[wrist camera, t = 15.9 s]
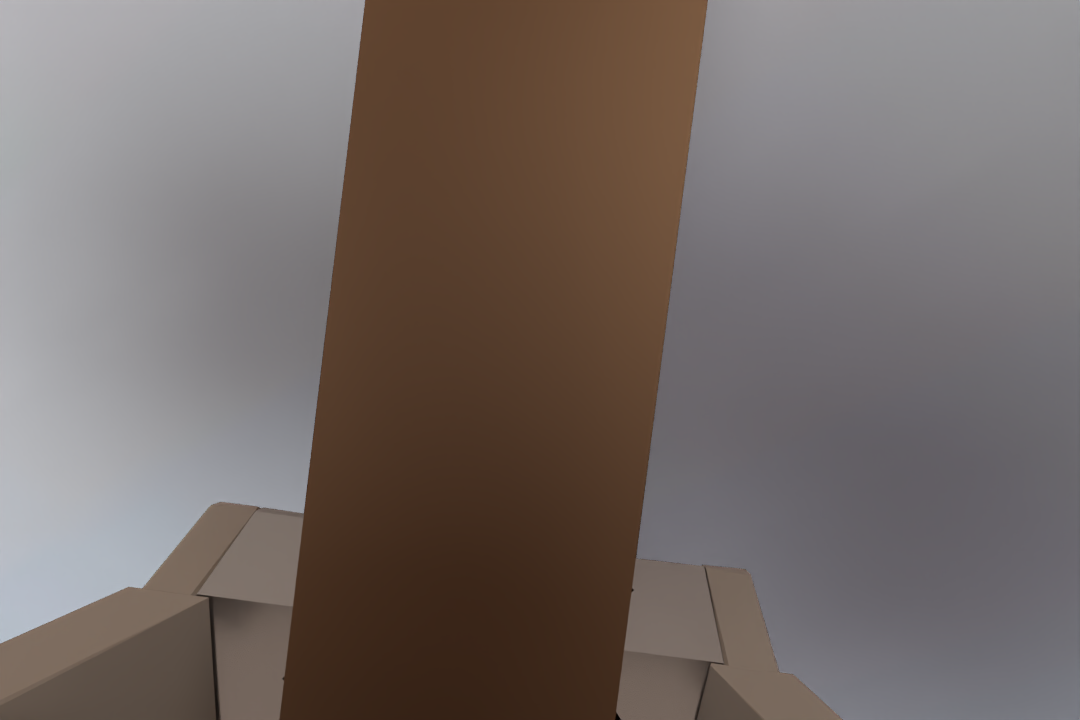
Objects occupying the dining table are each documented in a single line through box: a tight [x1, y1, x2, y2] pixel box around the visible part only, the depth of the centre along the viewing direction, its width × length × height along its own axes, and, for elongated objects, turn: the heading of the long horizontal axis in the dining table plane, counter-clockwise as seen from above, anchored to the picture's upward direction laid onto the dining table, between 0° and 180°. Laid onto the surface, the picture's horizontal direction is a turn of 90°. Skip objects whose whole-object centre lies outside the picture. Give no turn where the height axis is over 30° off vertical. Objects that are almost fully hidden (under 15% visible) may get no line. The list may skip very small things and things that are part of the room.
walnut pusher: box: [279, 0, 708, 720], centre depth 9 cm, size 6×22×4 cm, turn 174°
